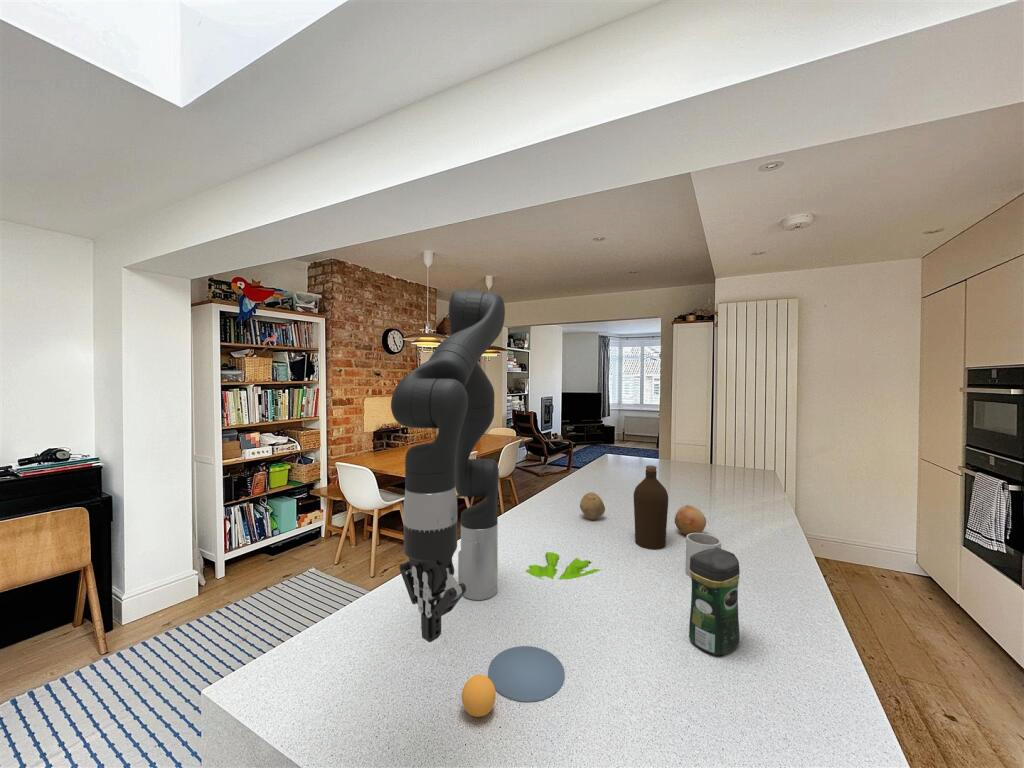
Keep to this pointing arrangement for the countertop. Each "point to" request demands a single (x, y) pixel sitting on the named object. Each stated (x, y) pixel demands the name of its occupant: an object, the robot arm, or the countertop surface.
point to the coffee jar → (714, 601)
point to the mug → (699, 545)
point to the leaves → (551, 571)
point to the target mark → (526, 674)
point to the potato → (592, 506)
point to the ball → (478, 695)
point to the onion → (690, 520)
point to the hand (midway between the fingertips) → (431, 637)
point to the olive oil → (650, 511)
